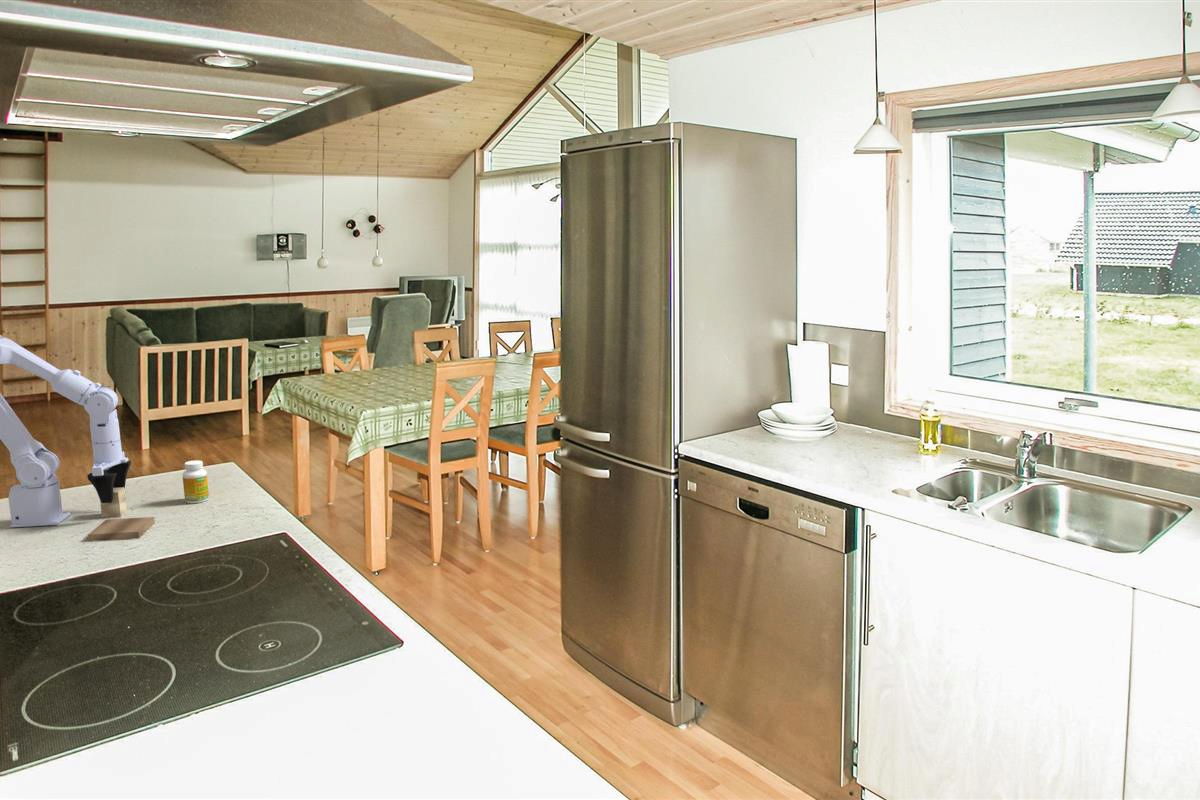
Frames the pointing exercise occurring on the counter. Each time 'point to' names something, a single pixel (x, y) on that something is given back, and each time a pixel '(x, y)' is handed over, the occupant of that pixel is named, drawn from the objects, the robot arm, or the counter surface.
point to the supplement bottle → (195, 482)
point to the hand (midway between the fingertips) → (113, 497)
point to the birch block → (115, 504)
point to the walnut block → (121, 528)
